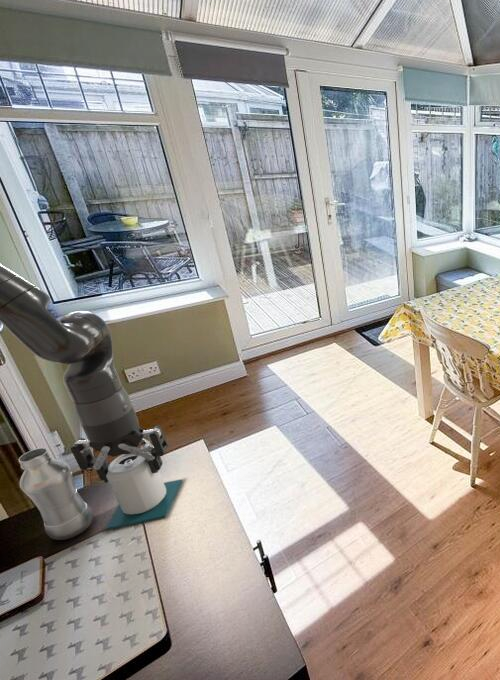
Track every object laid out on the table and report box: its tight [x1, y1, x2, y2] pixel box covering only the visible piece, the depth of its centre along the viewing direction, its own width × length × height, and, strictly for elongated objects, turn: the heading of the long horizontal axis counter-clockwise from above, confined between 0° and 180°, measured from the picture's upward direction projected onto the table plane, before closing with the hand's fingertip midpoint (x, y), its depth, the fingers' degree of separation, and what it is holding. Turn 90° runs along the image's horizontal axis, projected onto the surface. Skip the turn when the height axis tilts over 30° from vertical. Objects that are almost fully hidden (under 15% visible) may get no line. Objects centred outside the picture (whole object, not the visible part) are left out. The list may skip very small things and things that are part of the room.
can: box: [106, 453, 166, 514], centre depth 87 cm, size 8×8×12 cm
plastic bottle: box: [18, 447, 94, 541], centre depth 79 cm, size 6×7×20 cm
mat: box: [105, 479, 183, 531], centre depth 89 cm, size 10×10×1 cm
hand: (133, 474), depth 86 cm, fingers closed on can, 7 cm apart
